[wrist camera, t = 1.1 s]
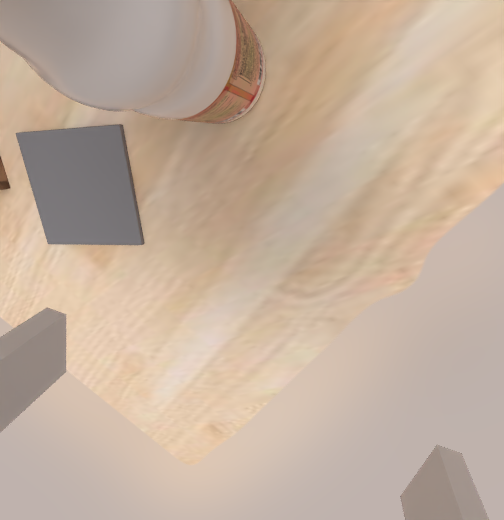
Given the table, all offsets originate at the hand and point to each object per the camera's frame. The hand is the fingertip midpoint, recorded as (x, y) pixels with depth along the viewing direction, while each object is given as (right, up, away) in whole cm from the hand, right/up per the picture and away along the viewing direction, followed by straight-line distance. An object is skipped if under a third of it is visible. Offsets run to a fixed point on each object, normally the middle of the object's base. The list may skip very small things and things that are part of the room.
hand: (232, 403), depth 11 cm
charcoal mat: (-20, +14, +29) cm, 38 cm away
